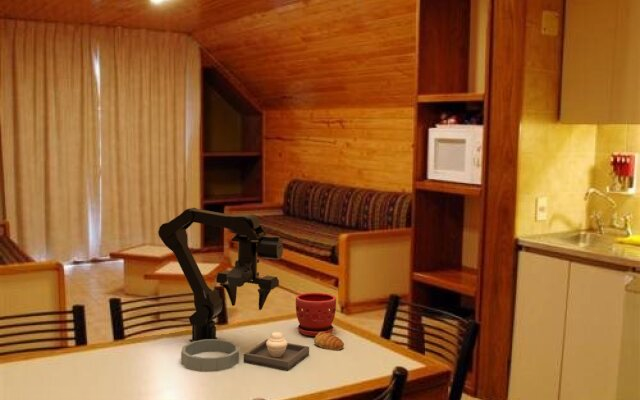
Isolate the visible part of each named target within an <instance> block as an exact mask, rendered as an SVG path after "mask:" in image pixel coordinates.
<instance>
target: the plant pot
mask: <svg viewBox="0 0 640 400" xmlns="http://www.w3.org/2000/svg"><path fill="white" fill-rule="evenodd" d="M336 309H337V298H336V296H334V295H333V294H329V293H323V292H305V293H300V294H298V295H296V296H295V312H296V318H297V321H298V324H299V325H297V330H298V332H299V333H301V334H303V335H304V336H309V337H316V335H317V334H318V333H320V332H325V333H331V334H332V332H333V331H334V326H333V322H334V320H335V316H336Z"/></svg>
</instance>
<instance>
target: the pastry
mask: <svg viewBox="0 0 640 400" xmlns="http://www.w3.org/2000/svg"><path fill="white" fill-rule="evenodd" d="M314 337H315V338H314V339H313V343H314V345H315V346H317V347H319V348H321V349H325V350H330V351H339V350H341V349H343V348H344V346H345V342H344V341H343V340H342V339H341V338H340V337H338V336H336V335H335V334H332V332H331V333H325V332H320V333H318V334H317V335H316V336H314Z"/></svg>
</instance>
